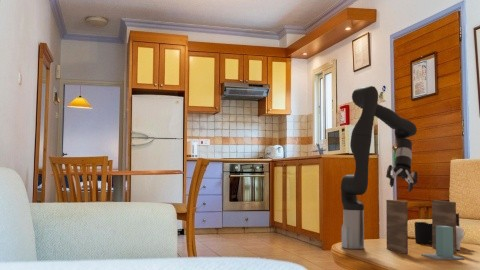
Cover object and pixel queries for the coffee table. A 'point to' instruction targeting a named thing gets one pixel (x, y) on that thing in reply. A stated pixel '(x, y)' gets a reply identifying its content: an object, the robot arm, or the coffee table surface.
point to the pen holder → (423, 233)
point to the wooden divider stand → (399, 223)
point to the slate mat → (434, 256)
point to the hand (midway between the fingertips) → (400, 188)
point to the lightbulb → (459, 236)
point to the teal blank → (444, 241)
